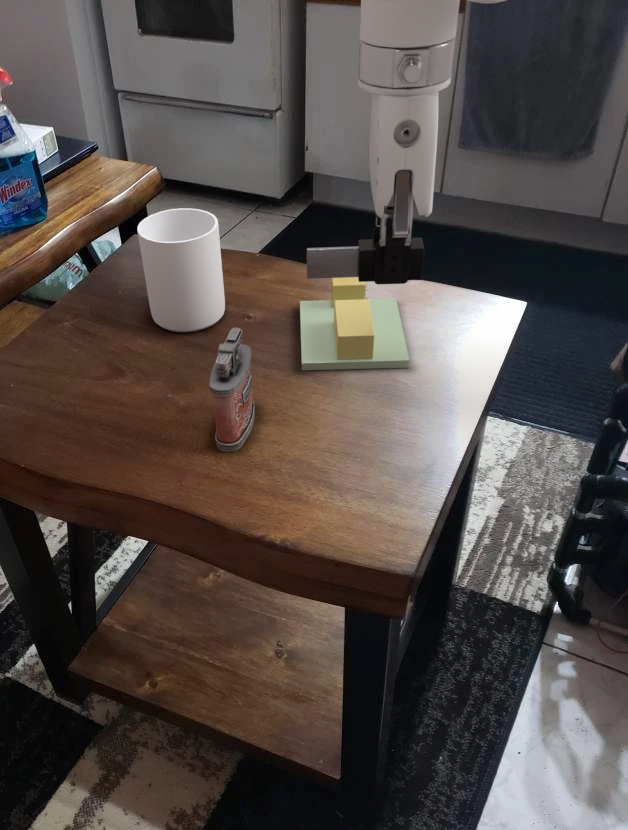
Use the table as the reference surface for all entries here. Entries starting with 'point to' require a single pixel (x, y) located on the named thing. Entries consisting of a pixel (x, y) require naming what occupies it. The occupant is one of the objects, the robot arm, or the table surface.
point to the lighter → (232, 392)
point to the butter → (353, 329)
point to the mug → (183, 268)
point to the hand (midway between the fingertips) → (389, 273)
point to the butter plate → (322, 344)
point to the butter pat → (347, 289)
